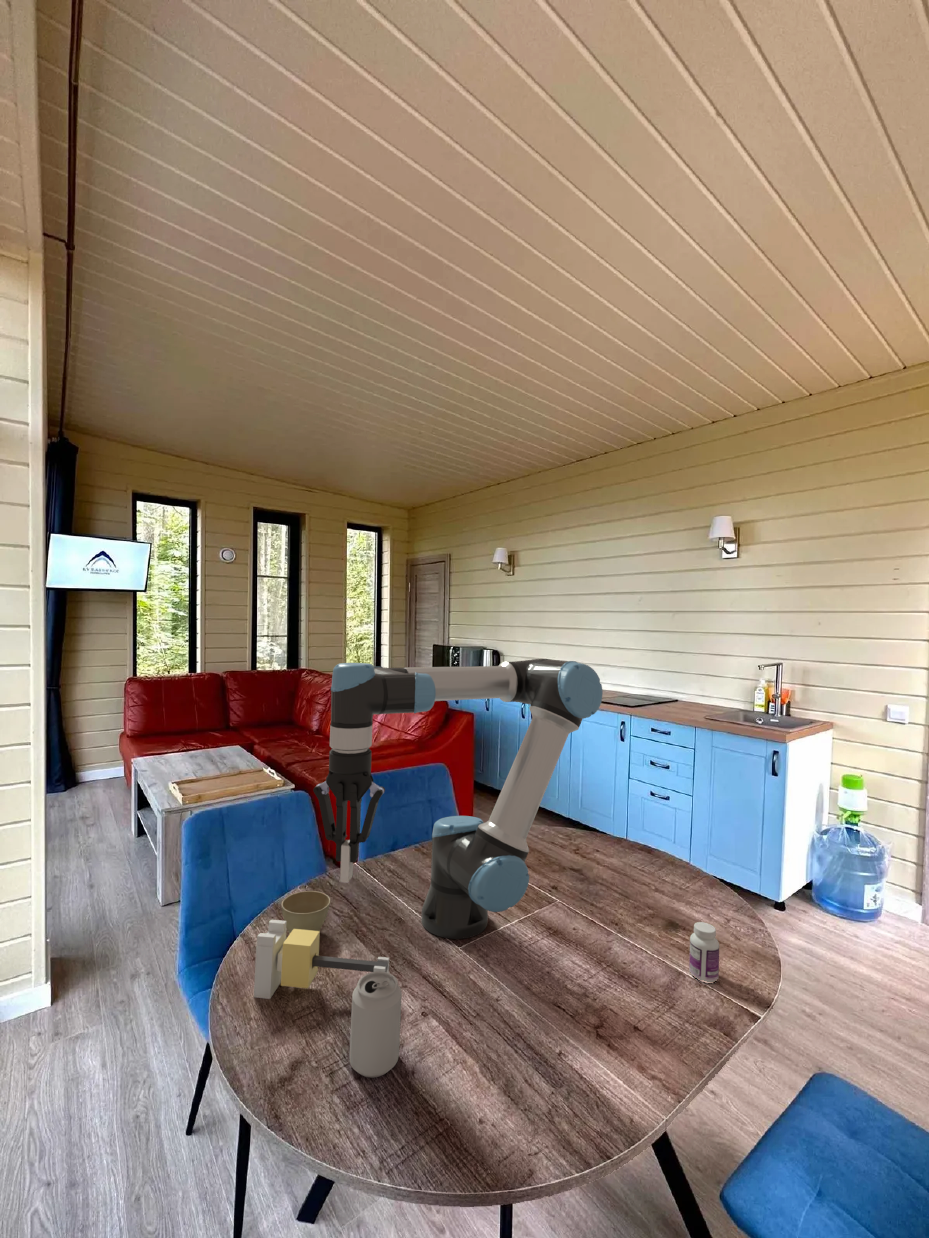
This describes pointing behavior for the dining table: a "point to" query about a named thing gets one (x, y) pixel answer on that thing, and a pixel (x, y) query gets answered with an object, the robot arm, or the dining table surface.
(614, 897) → the dining table surface
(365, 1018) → the can
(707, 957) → the pill bottle
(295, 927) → the flower pot
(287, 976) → the sleeve
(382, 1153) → the dining table surface
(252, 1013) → the dining table surface
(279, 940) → the linear slide mechanism
